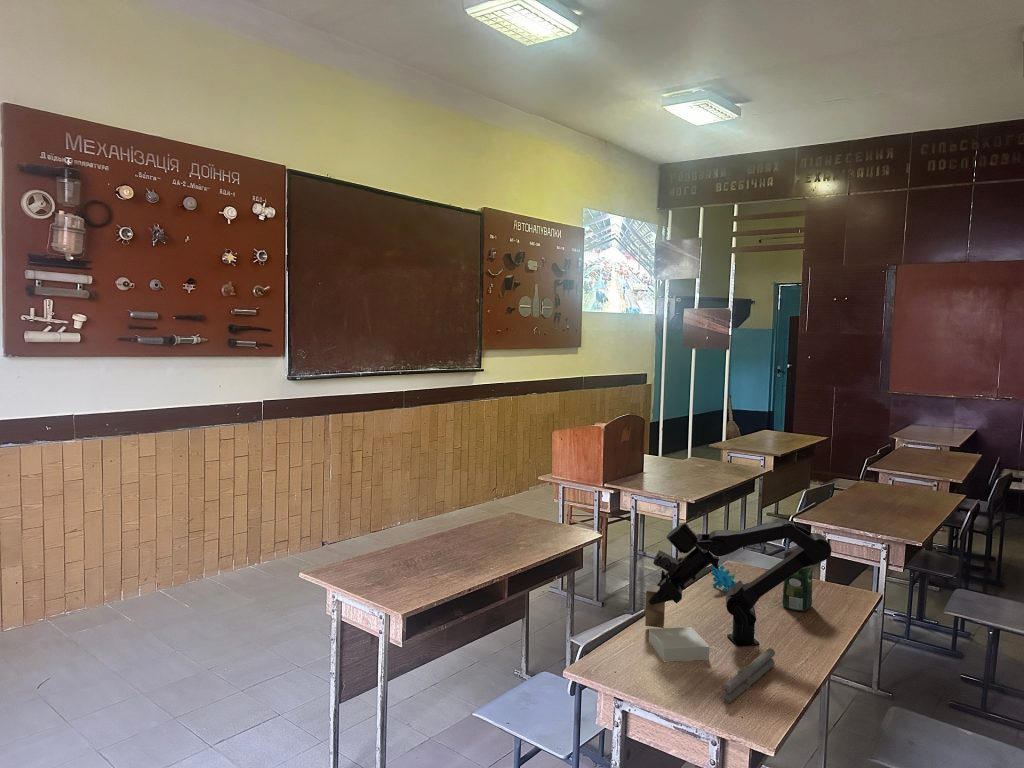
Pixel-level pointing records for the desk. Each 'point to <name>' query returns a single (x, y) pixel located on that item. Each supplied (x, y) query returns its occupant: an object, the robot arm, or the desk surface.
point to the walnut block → (654, 609)
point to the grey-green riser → (678, 644)
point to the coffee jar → (798, 587)
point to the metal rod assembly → (748, 675)
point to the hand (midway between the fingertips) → (650, 599)
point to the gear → (722, 578)
